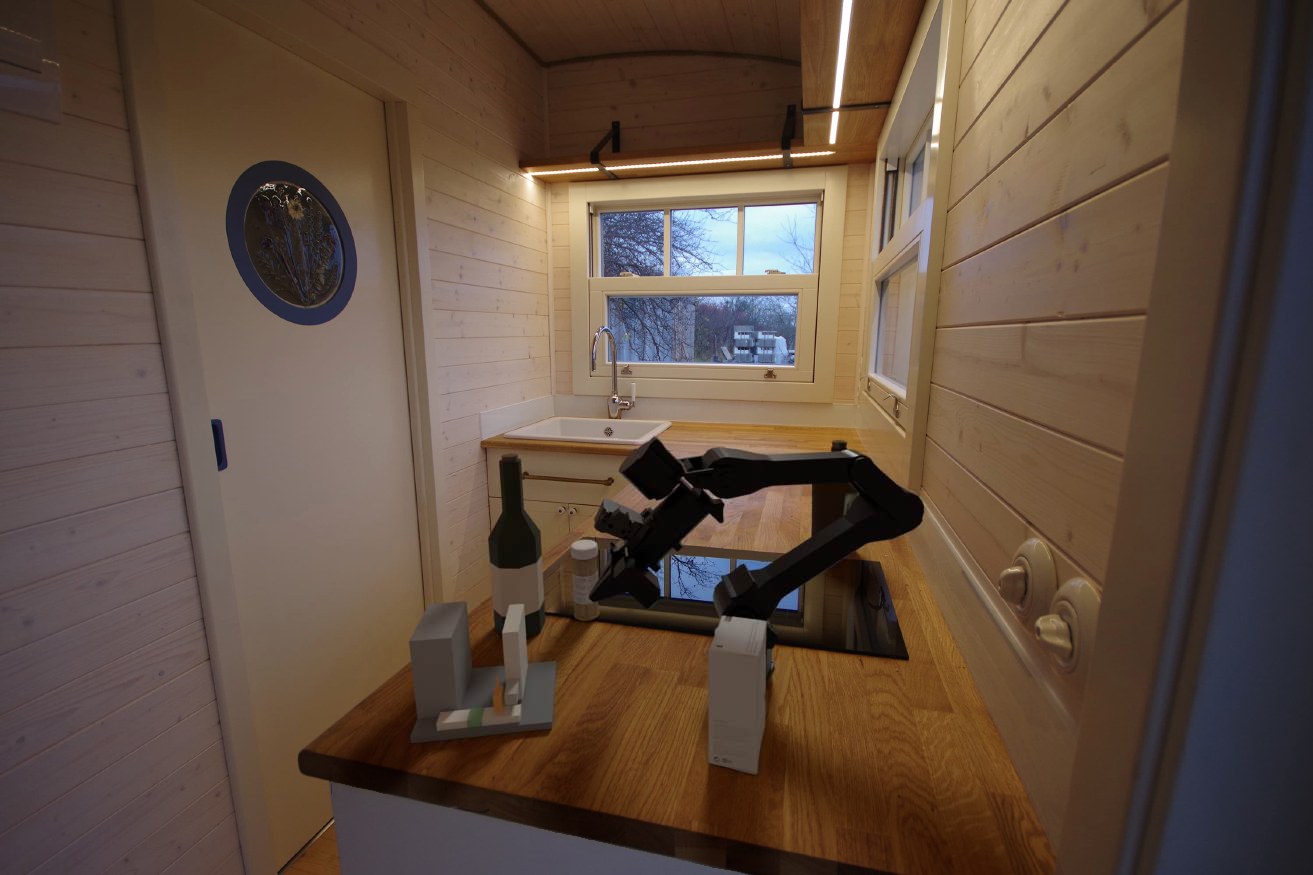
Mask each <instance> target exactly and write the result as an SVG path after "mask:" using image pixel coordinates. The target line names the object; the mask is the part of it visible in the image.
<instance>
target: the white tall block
mask: <svg viewBox="0 0 1313 875" xmlns="http://www.w3.org/2000/svg"><path fill="white" fill-rule="evenodd" d="M502 637H503V638H502ZM502 637H501V638H502V647H503V648H502V650H503V661H504V665H503V666H505V679H506V689H505V694H504V698H505V705H513V704H517V703H518V700H523V694H524V688H525V681H526V675H527V669H528V648H527V639H526V629H525V613H524V604H515V605H509V608H508V612H507V616H506V620H505V624H504V628H503V632H502Z"/></svg>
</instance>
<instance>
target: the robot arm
mask: <svg viewBox="0 0 1313 875" xmlns="http://www.w3.org/2000/svg"><path fill="white" fill-rule="evenodd" d="M617 471H618V473H620V475H622V477H623V478H625V480H627V481H628V482H629V483H630V484H631V485H632V486H633V487H634V488H635V489H636V490H637V491H638V492H640V494H642V495H643V496H644V497H645V498H646V499H647V500H648V501H652V500H655V501H656V502H658V501H660V503H658V505H656V506H655V508H651V507H648V508H647V507H646V508H644V509H643V510H642V511H641V512H638V511H635V510H633V509H632V508H630V507H628V506H626V505H623V504H620V503H618V502H616V501H614V500H611V499H608V498H603V499H602V501H601V503H600V506H599V508H598V510H597V512H596V514H595V516H594V518H593V520H594V524H593V527H594V529H595V530H596V531H598V532H599V533H600V534H608V535H610V536H613V537H615V538H617V539H620V540H619V541H618V542H617V543H616V544H615V543H613V542H612V541H610V542H609V560H608V562H607V564H606V566H605V567H604V569H603V571H602V572H601V574H600V575H599V576H598V580H597V582H596V584H595V585H594V587H593V589H592V590H591V592H590V594H589V599H590V600H591V601H592V602H597V601H598V602H600V601H603V600H607V599H609V598H613V597H616V596H619V595H623V594H626V593H628V594H629V595H630V596H631V597H632V598H633V599H635V600H636V601H637V602H638V603H639V604H640V605H642V606H643V608H645V609H646V610H649V611H651V610H652V609H653V608H654V607H655V606H656V605H657V604H658V603H659V602H660V601H661V599H662V596H661V593H662V590H661V584H660V582H659V578H658V576H657V575H656V573H657V572H659V571H660V570H661V568H662V566H661V563H660V562H662V561H663V559H664V558H665V557H667V556H668V555H669V554H670V553H671V552H672V551H673V550H674V551H676V552H677V553H678V552H680V551H681V550H682V549H683V547H684V546H683V544H682V541H683V540H684V539H686V537H687V536H688V535H689V534H691V533H692V532H693V530H695V528H697V527H698V526H699V525H700V523H702V522H704V520H705V519H706V518H707V517H709V515H711V517H712V518H713V519H714V520H715V521H717V522H718V523H719V524H723V523H724V522H725V517H724V509H725V504H726V503H725V502H724V500H731V499H736V498H739V497H740V498H741V497H745V496H749V495H752V494H755V493H757V492H759V491H761V490H763V489H765V488H771V487H780V486H781V487H782V486H783V487H784V486H785V487H786V486H804V485H806V486H807V485H812V484H827V483H847V482H849V483H850V484H851V486H852V487H853V488H854V489H855V490H856V491H857V492H858V493H859V495H858V496H857V497H856V498H855V499H854V501H853V503H852V504H851V506H850V508H849V509H848V511H847V513H846V514H845V515H844V516H843V517H841V518H840V519H838V520H837V521H835V522H834V523H832V524H830V525H829V526H827V527H826V528H824V529H823V530H821V531H820V532H818V533H817V534H815V535H813V536H812V537H809V538H807V539H806V540H804V541H803V542H801V543H799V544H797V545H796V546H794V547H793V548H792V549H790V550H789V551H787V552H786V553H783V555H781V556H780V557H778V558H776V559H775V560H773V561H772V562H770V563H768V564H767V565H766V566H764V567H761V568H757V569H750V570H749V568H748V567H747V565H746V563H741V564H739V565H738V566H737V567H736V568H734V569H733V570H732V571H731V572H729V573H727V574H723V575H721V576H720V581H719V582H718V583H717V584H716V585H715V587H714V589H713V593H712V600H713V601H712V602H713V604H714V607H715V609H716V612H717V614H718V617H719V621H720V620H721V617H722V616H730V617H738V618H746V619H755V620H762V621H766V622H767V624H766V683H767V682H768V680H769V677H770V676H771V673H772V671H773V669H774V667H775V661H774V660H773V649H774V647H775V645H776V642H778V641H777V640H778V639H779V635H778V633H777V632H776V630H775V627H774V626H773V624H772V622H771V620H770V619H771V618H772V616H773V614H774V613H775V611H776V610H777V608H778V606H779V605H780V602H781V601H782V600H783V599H784V598H785V597H787V596H788V595H790V594H791V593H793V592H795V591H796V590H797V589H799V588H800V587H802V586H804V585H805V584H807V583H808V582H810V581H811V580H813V579H815V578H816V577H818V576H819V575H821V574H822V573H824V572H826V571H827V570H829V569H830V568H831V567H833V566H835V565H836V564H837V563H839V562H840V561H842V560H844V559H846V558H847V557H849V556H850V555H852V554H854V553H855V552H857V551H858V550H859V549H861V548H863V547H864V546H866V545H868V544H871V543H877V542H884V541H892V540H894V539H896V538H899V537H901V536H903V535H906V534H908V533H910V532H913V531H915V530H916V529H917V528H918V527H920V525H921V524H922V523H923V521H924V520H923V517H924V515H925V505H924V502H923V500H922V499H921V497H919V495H917V494H915V493H913V492H912V491H910V490H908V489H906V488H905V487H903V486H900V485H899V484H897V483H896V481H894V480H893V479H892V478H891V477H889V476H888V474H886V473H885V472H884V471H882V470H881V469H880V468H879V467H878V466H877V464H876V463H875V462H874V461H873V460H872V458H871V457H869V456H867V455H865V454H864V453H862V452H859V451H858V450H855V449H851V448H849V449H848V448H847V450H844V451H835V452H831V451H816V452H796V453H794V452H793V453H792V452H791V453H775V454H774V453H772V454H771V453H770V454H766V453H765V454H763V453H756V452H752V451H748V450H745V449H744V450H743V449H737V448H730V447H723V446H716V447H712V448H710V449H707V450H706V451H705V452H704V454H702V455H696V456H689V457H688V456H687V457H682V458H677V457H675V456H674V454H673V453H671V452H670V451H669V449H667V447H666V446H665V445H664V443H663V442H662V441H661V440H660V438H658V436H655V435H654V436H653V437H652V438H651V439H650V440H649V441H646V442H644V443H642V444H641V445H640V446H639V447H638V448H634V449H633V450H632V451H631V452H630V453H629V454H628V455H627V457H626V458H625V459H624V460H623V462H621V464H620V466H619V468H618V470H617ZM683 478H684V479H683ZM686 481H687V482H686ZM706 491H709V492H710V493H711V494H712V495H713V496H714V497H716V498H713V497H712V496H711V495H709V493H707V492H706ZM650 569H651V570H650ZM652 571H653V572H652ZM654 573H655V574H654Z"/></svg>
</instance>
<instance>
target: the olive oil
mask: <svg viewBox="0 0 1313 875" xmlns="http://www.w3.org/2000/svg"><path fill="white" fill-rule="evenodd" d="M847 446H848V441H847V440H842V439H834V440H832V441H831V447H830V452H835V451H844V450H847V449H848V447H847ZM858 495H859V493H858V492H857V491H856V490H855V489H854V488H853V487H852V486H851V484H850V483H849V482H847V483H827V484H811V528H810V529H811V532H810V533H811V537H812V536H813V535H815V534H817V533H818V532H820V531H821V530H823V529H824V528H826V527H827V526H829V525H830V524H832V523H834V522H835V521H837V520H838V519H840V518H841V517H843V516H844V515H845V514H846V513H847V511H848V509H849V508H850V506H851V504H852V503H853V501H854V499H855V498H856V497H857V496H858Z"/></svg>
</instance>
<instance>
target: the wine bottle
mask: <svg viewBox="0 0 1313 875" xmlns="http://www.w3.org/2000/svg"><path fill="white" fill-rule="evenodd" d="M498 468H499V470H498V471H499V481H500V482H499V483H500V496H501V497H500V498H501V510H502V511H501V514H500V515H499V517H498V519H497V521H496V522H495V524H494V527H493V528H492V530H491V532H490V533H489V535H488V539H487V540H488V541H487V542H488V553H489V555H488V557H489V566H490V567H489V568H490V581H491V596H492V609H493V610H492V611H493V621H494V622H493V623H494V632H495V633H496V634H497V635H498V636H499V637H500V638H501V639H503V637H502V632H503V628H504V624H505V620H506V616H507V612H508V608H509V605H515V604H524V613H525V629H526V640H527V639H529V638H531V637H534V636H536V635H539V634H540V633H541V632H542V631H543V628H544V626H545V624H546V608H545V606H546V605H545V590H544V571H543V553H542V552H543V551H542V550H543V549H542V536H541V535H542V533H541V530H540V528H539V527H538V526H537V524H536V523H535V521H533V519H532V518H531V516H530V515H529V514H528V512H527V511H526V510H525V504H524V503H525V502H524V488H523V471H522V470H523V469H522V459H521V458H519V454H518V453H513V452H512V453H505V454H502V455H501V459H500V460H498Z"/></svg>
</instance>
